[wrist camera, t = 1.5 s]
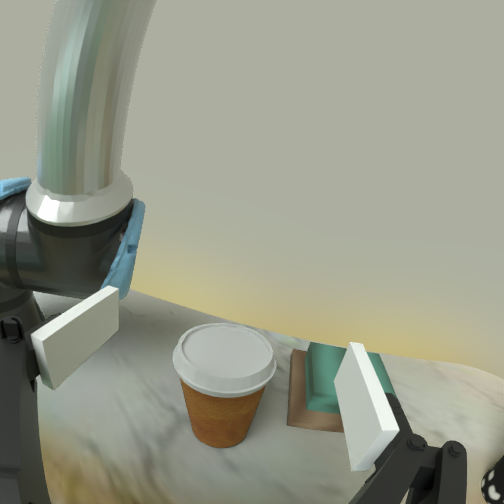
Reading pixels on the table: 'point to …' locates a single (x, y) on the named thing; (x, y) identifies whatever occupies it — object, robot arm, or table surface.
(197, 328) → the disposable coffee cup
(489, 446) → the table surface
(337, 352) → the display stand
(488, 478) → the white-spotted black cylinder
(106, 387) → the table surface
